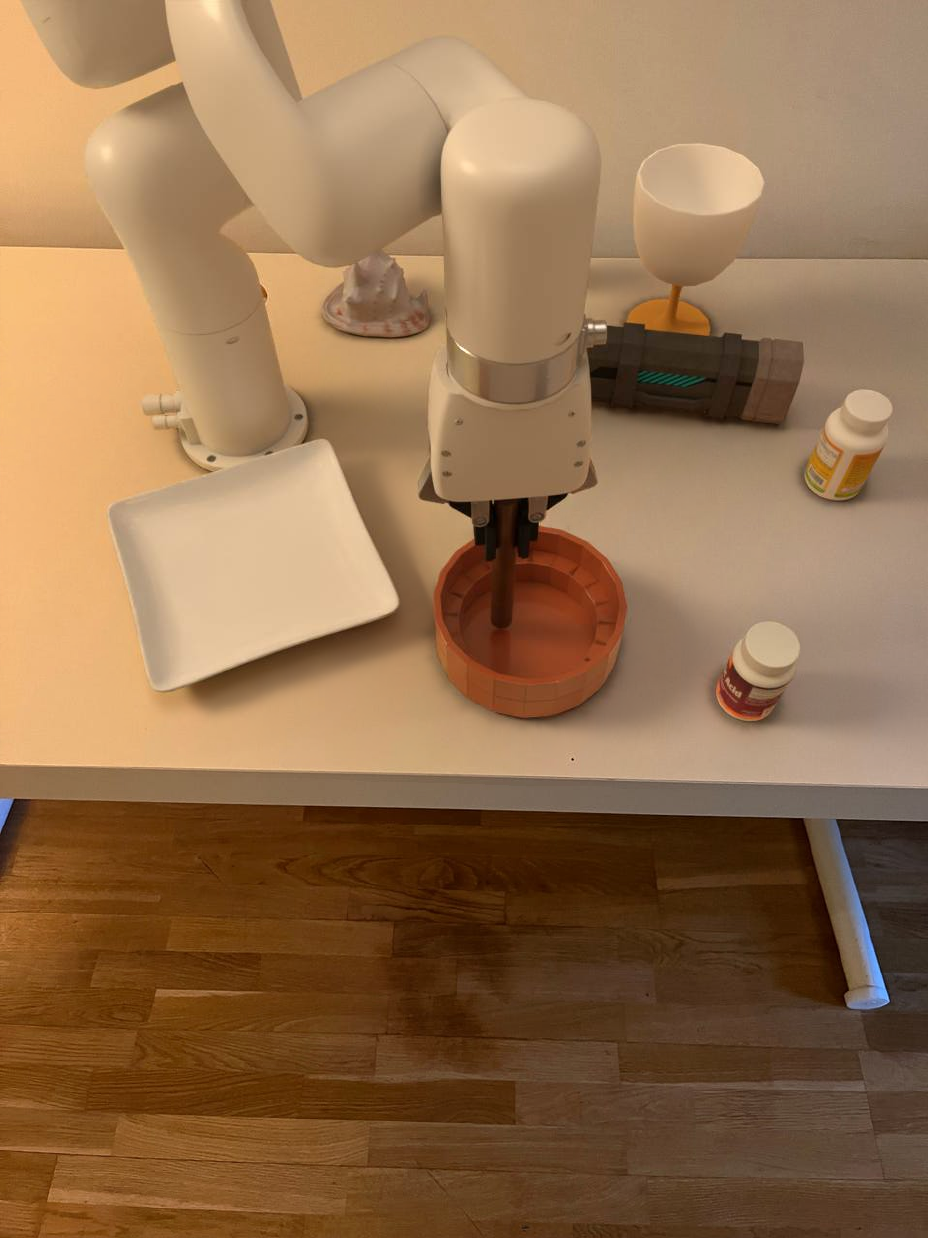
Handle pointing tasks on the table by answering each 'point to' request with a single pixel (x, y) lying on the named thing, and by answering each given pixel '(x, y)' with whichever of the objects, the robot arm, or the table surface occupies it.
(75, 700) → the table surface
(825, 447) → the supplement bottle
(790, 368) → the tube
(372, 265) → the seashell
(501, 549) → the stick
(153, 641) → the salad plate
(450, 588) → the bowl
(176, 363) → the robot arm
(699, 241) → the cup
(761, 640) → the pill bottle
